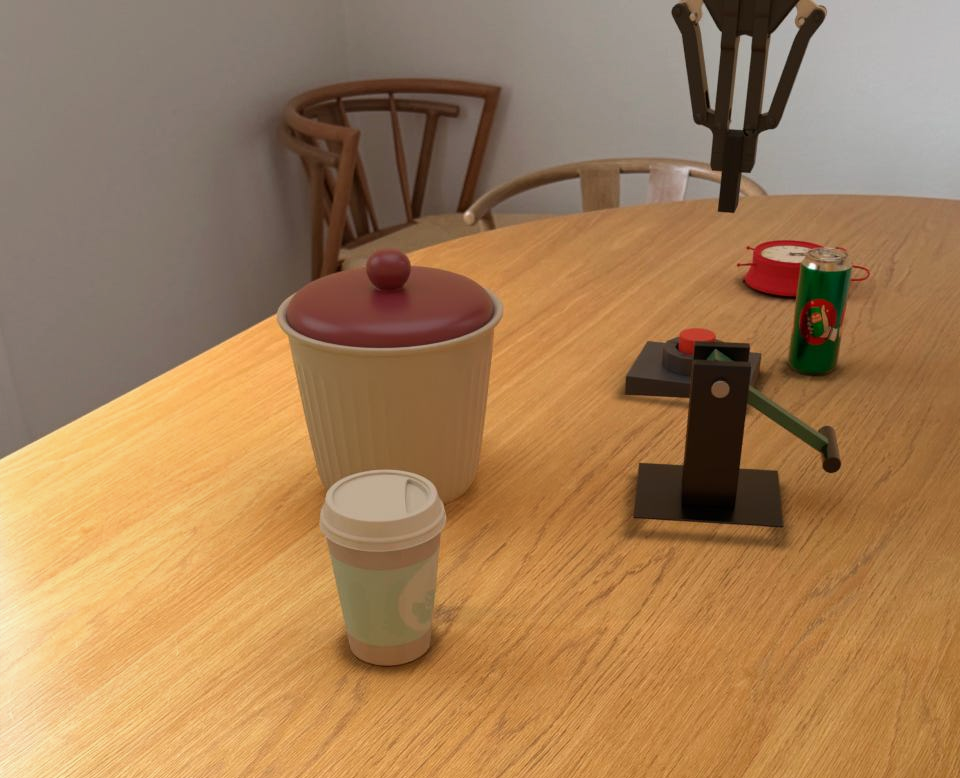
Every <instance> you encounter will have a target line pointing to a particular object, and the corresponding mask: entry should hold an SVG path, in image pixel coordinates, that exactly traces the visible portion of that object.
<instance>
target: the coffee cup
mask: <svg viewBox="0 0 960 778" xmlns="http://www.w3.org/2000/svg"><path fill="white" fill-rule="evenodd" d="M319 517H320V518H319V521H318V522H319V523H318V524H319V529H320V531H321V533H322V534H323V536H324V537H325V538H326V544H327V548H328V553H329V557H330V562H331V567H332V571H333V575H334V581H335V585H336V590H337V594H338V599H339V604H340V609H341V613H342V617H343V621H344V626H345V631H346V635H347V639H348V644H349V648H350V651H351V652H352V654H353V655H354V656H355V657H357V658H358V659H359V660H361V661H362V662H365V663H368V664H372V665H376V666H384V667H385V666H389V667H391V666H398V665H403V664H404V665H405V664H407V663H410V662H413V661H415V660H417V659H419V658H420V657H422V656H423V655H424V654H425V653H426V652H427V651H428V650H429V648H430V646H431V641H432V640H431V639H432V631H433V622H434V621H433V620H434V610H435V600H436V588H437V580H438V570H439V569H438V568H439V558H440V547H441V537H442V536H441V535H442V530H443V529H444V528H445V526H446V524H447V513H446V511H445V504H444V505H443V503H442V501H441V500H440V498H439V496H438V493H437V490H436V488H435V486H434V485H433V484H432V483H431V482H430V481H429V480H427V479H426V478H424V477H422V476H420V475H417V474H414V473H410V472H406V471H399V470H372V471H366V472H361V473H357V474H353V475H350V476H348V477H345V478H343V479H341V480H339V481H338V482H336V483H335V484H334V485H332V486H331V487H330V489H329V490H328V492H327V491H326V494H325V498H324V503H323V505H322V506H321V509H320V515H319Z"/></svg>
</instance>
